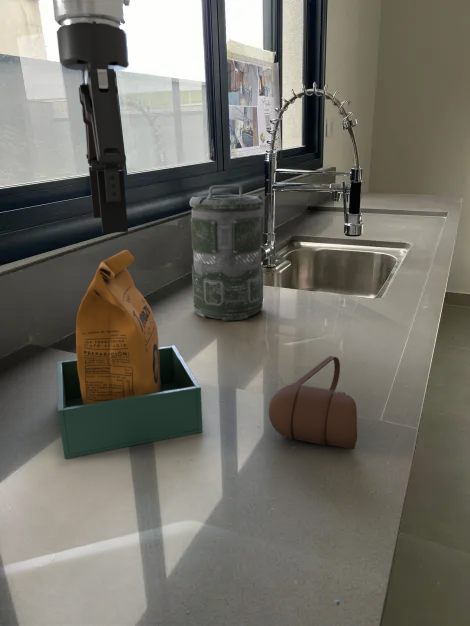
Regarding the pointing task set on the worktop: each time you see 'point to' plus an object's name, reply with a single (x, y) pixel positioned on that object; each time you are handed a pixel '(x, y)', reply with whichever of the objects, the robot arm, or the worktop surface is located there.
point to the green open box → (129, 410)
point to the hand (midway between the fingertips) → (109, 224)
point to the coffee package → (116, 337)
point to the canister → (227, 254)
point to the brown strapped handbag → (315, 412)
